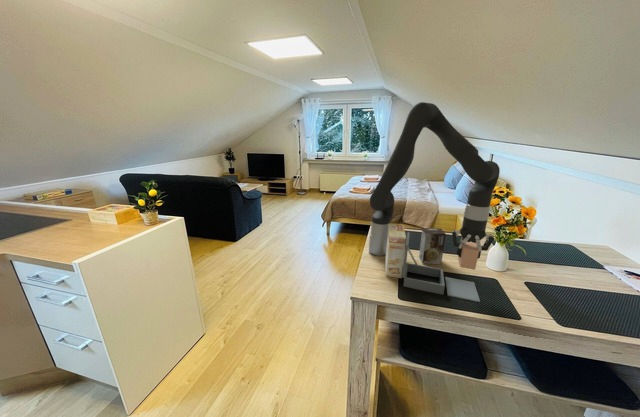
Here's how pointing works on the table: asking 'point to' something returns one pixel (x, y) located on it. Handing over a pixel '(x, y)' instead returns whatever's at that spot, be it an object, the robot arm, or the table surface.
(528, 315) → the table surface
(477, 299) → the mat
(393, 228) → the coffeecake box
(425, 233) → the coffee box
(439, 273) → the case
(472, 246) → the block
